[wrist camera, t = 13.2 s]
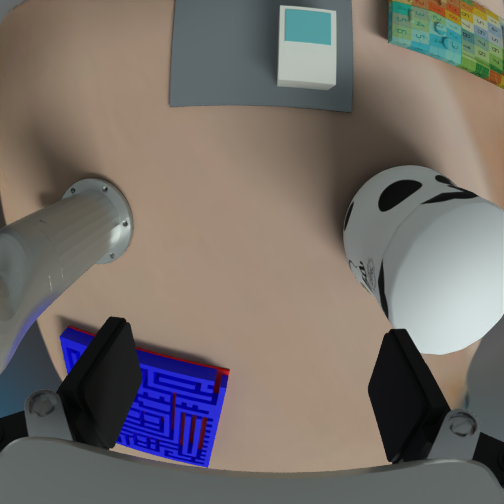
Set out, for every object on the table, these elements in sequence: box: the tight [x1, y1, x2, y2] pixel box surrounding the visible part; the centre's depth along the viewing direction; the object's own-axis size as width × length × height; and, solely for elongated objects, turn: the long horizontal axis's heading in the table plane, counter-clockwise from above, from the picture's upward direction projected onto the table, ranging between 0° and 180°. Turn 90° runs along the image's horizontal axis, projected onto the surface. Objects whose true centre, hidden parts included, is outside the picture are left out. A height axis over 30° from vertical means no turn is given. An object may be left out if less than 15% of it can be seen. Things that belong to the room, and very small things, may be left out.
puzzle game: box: [388, 0, 504, 89], centre depth 27 cm, size 12×5×20 cm
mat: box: [170, 0, 353, 113], centre depth 31 cm, size 22×18×1 cm
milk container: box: [343, 165, 504, 355], centre depth 31 cm, size 17×17×18 cm
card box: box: [277, 5, 336, 90], centre depth 29 cm, size 9×6×5 cm, turn 178°
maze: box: [60, 326, 230, 467], centre depth 54 cm, size 30×30×4 cm
